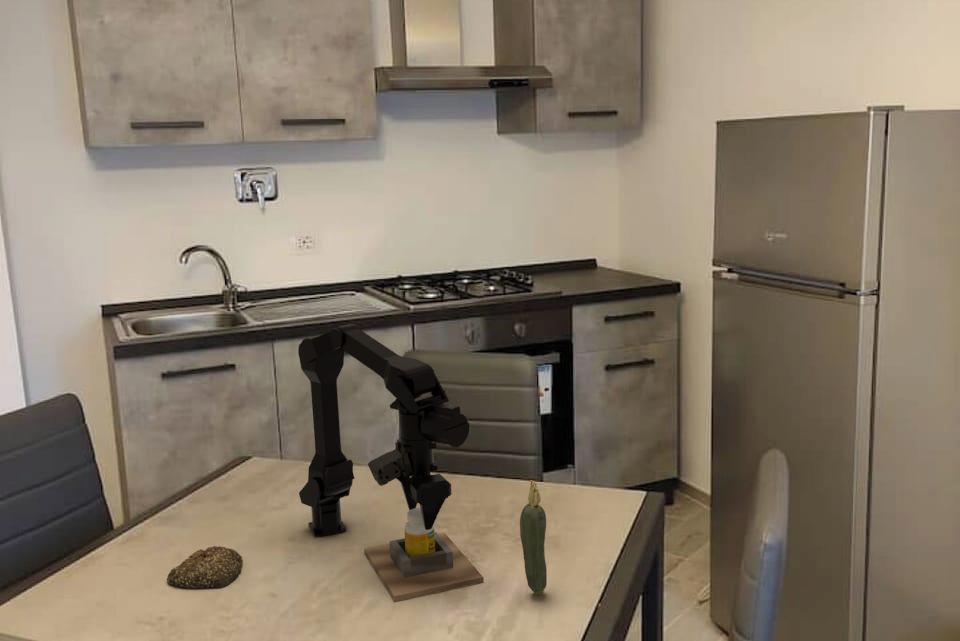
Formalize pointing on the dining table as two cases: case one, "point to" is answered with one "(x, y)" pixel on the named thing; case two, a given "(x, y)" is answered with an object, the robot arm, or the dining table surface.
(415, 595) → the can holder
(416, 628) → the dining table surface
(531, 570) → the vegetable
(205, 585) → the bread roll
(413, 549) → the supplement bottle
